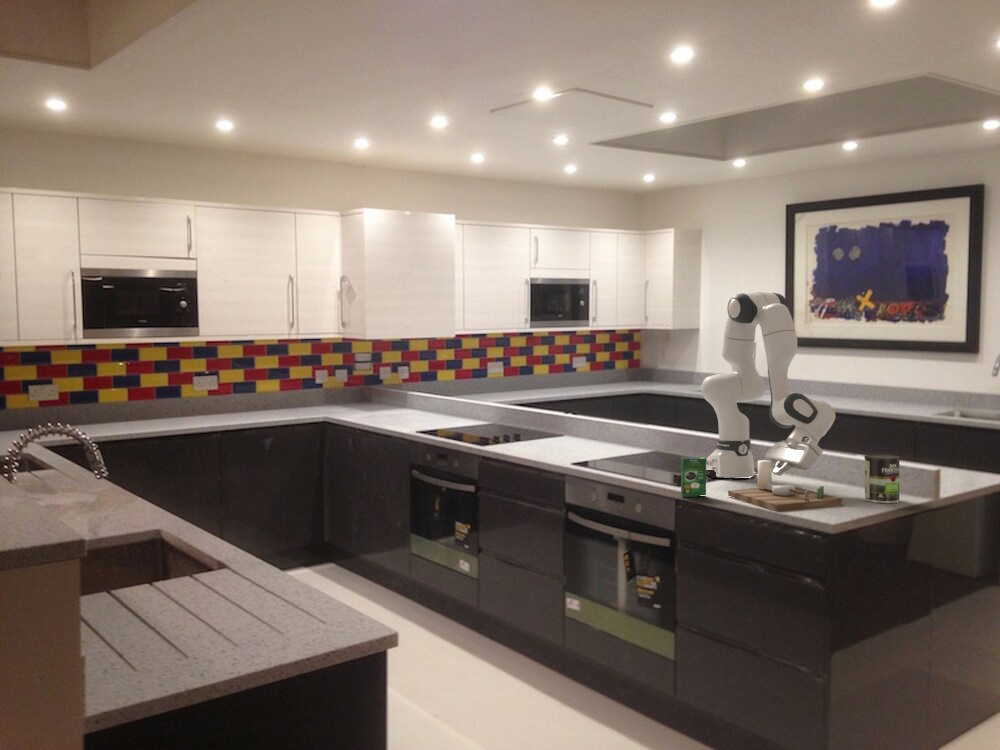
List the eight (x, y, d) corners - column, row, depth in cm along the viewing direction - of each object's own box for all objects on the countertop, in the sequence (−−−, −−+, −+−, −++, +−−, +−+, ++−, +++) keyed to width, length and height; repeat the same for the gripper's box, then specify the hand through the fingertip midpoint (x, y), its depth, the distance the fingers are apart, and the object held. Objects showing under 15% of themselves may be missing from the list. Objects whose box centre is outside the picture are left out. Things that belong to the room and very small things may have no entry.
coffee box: (705, 495, 285) (704, 456, 285) (706, 497, 283) (706, 457, 282) (680, 496, 286) (680, 457, 285) (682, 497, 283) (681, 458, 282)
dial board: (728, 496, 282) (728, 481, 282) (789, 491, 290) (789, 476, 290) (776, 511, 258) (776, 495, 258) (842, 505, 265) (842, 489, 265)
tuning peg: (751, 488, 284) (751, 460, 284) (769, 486, 286) (769, 459, 286) (794, 499, 263) (793, 470, 263) (813, 498, 265) (812, 468, 265)
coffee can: (907, 502, 267) (907, 457, 267) (879, 504, 265) (879, 459, 264) (884, 496, 277) (883, 453, 277) (857, 498, 274) (857, 455, 274)
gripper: (775, 433, 296) (751, 463, 294) (814, 440, 277) (789, 472, 274) (786, 445, 298) (763, 475, 295) (826, 452, 278) (801, 484, 276)
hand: (776, 474), depth 284 cm, fingers closed
